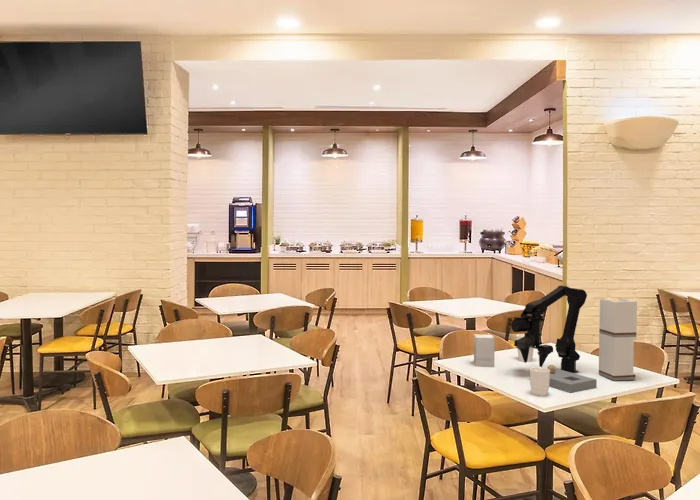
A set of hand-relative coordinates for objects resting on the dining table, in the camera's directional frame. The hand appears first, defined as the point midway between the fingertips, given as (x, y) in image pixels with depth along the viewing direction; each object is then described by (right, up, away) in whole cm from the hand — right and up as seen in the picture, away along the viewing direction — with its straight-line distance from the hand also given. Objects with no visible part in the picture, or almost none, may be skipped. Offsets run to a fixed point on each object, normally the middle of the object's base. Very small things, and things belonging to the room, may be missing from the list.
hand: (533, 364), depth 263 cm
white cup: (-7, -6, -30) cm, 31 cm away
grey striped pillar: (+37, -5, -2) cm, 38 cm away
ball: (+5, 0, -10) cm, 11 cm away
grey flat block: (+8, -5, -15) cm, 18 cm away
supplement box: (-19, -4, +18) cm, 26 cm away
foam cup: (+5, -4, +28) cm, 29 cm away
